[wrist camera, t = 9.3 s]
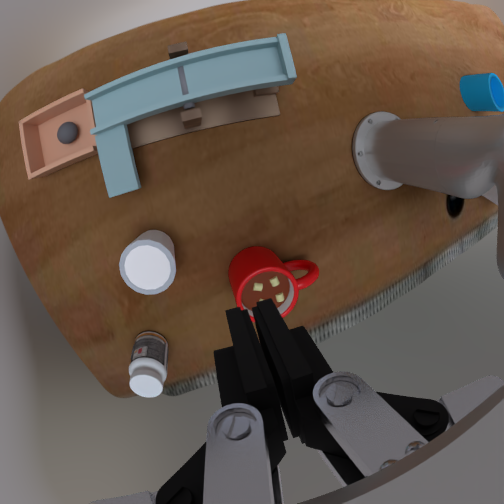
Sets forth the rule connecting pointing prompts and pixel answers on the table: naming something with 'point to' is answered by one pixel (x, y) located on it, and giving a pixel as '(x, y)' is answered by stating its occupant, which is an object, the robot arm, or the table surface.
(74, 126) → the ball
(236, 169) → the table surface
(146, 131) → the launcher base
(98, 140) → the lever
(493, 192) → the white flower pot
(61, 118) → the pink open box
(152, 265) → the white cylinder
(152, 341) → the pill bottle
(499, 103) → the mug
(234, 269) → the mug
